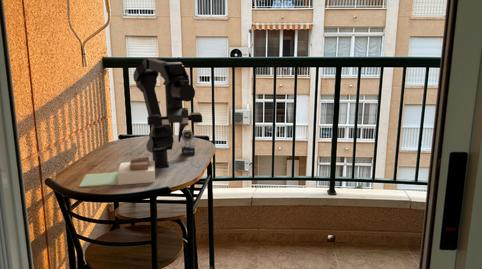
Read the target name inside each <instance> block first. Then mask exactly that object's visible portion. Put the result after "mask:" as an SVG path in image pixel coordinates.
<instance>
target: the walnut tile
mask: <svg viewBox="0 0 482 269" xmlns="http://www.w3.org/2000/svg"><path fill="white" fill-rule="evenodd" d="M149 161H150V158H149V156H148V157H147V156H145V157H133V158H131V160H130V162H131V163H130V171H135V170H148V167H149Z"/></svg>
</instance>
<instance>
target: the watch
mask: <svg viewBox="0 0 482 269" xmlns="http://www.w3.org/2000/svg"><path fill="white" fill-rule="evenodd" d="M194 137H195V134H194V133H193V131H192V129H191V128H184V130H183V133H182V136H181V139H182V141H183V144H184V145H181V156H195V155H196V147H195V145H192V142H193V140H194Z"/></svg>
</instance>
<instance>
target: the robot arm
mask: <svg viewBox="0 0 482 269" xmlns="http://www.w3.org/2000/svg"><path fill="white" fill-rule="evenodd" d="M159 75H160V78H162V79H163V80H164V81H163V83H162V84H163V85H164V89H165V92H164V93H165V109H166V110H165V111H166V115H165V116H162V112H161V109H160V105H159V101H158V97H157V92H156V86H157V83H158V81H157V80H158V77H159ZM189 77H190V76H189V75H188V73H187V70H186V69H185V65H183V63H182V62H181V61H173V62H172V61H170V62H169V61H165V60H161V59H158V58H156V57H146V58H143V60H142V62H141V63H140V64H139V65H137V66H136V68H135V70H134V71H133V81H134V82H135V85H136V87H137V89H138V90H139V91H140V92H141V93H142V94H143V99H144V103H145V108H146V111H147V115H148V116H147V125H148V126H150V127H151V128H150V131H149V134H148V137H149V138H148V140H147V142H146V150H147V152H149V153H152V161H155V169H156V168H167V167H170V162H169V160H168V151H170V150H173V145H174V134H173V130H172V124H176V123H178V136H177V137H178V138H177V140H178V143H181V139H182V133H183V131H184V130H185V129H186V126H189V124H190V123H189V121H191V122H192V123H193V124H197V123H198V124H200V123H203V115H202V114H201V113H200V112H189V107H183V102H185V103H186V102H191V101H192V100H193V99H194V98H195V96H196V90H195V88H194V86H193V85H192V84H190V78H189Z"/></svg>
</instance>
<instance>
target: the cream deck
mask: <svg viewBox="0 0 482 269" xmlns="http://www.w3.org/2000/svg"><path fill="white" fill-rule="evenodd" d="M130 163H131V161H129V162H121V163H120V165H119V167H118V171H117V172H118V185H119V186H120V185H121V186H122V185H132V184H146V183H147V184H149V183H155V182H156V168H155V161H153V160H149V167H148V170H135V171H130ZM118 185H117V186H118Z"/></svg>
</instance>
